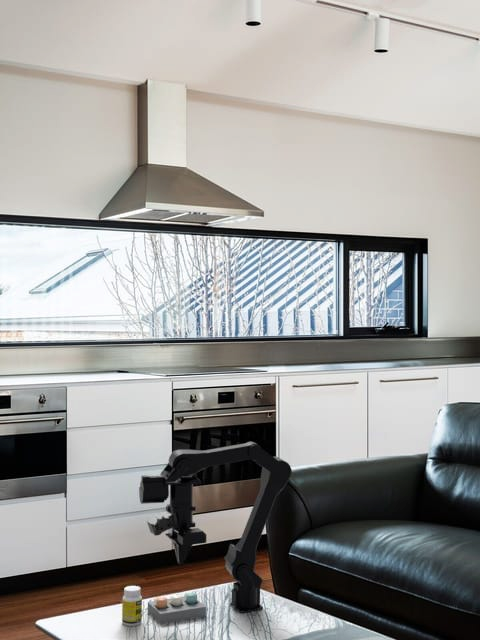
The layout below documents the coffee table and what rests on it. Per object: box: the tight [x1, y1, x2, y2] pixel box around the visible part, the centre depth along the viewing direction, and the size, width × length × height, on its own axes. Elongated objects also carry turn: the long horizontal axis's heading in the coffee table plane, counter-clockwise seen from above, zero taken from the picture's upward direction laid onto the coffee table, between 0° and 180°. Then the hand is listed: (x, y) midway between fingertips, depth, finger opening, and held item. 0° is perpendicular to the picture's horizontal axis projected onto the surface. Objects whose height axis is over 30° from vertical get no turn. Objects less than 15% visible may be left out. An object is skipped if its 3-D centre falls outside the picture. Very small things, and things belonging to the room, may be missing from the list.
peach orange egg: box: [155, 596, 168, 609], centre depth 212 cm, size 3×3×4 cm
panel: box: [147, 595, 207, 625], centre depth 214 cm, size 12×9×2 cm
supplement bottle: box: [121, 585, 143, 627], centre depth 208 cm, size 5×5×8 cm
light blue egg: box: [185, 592, 198, 605], centre depth 216 cm, size 3×3×4 cm
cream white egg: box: [170, 594, 183, 607], centre depth 214 cm, size 3×3×4 cm
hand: (180, 563), depth 214 cm, fingers closed
